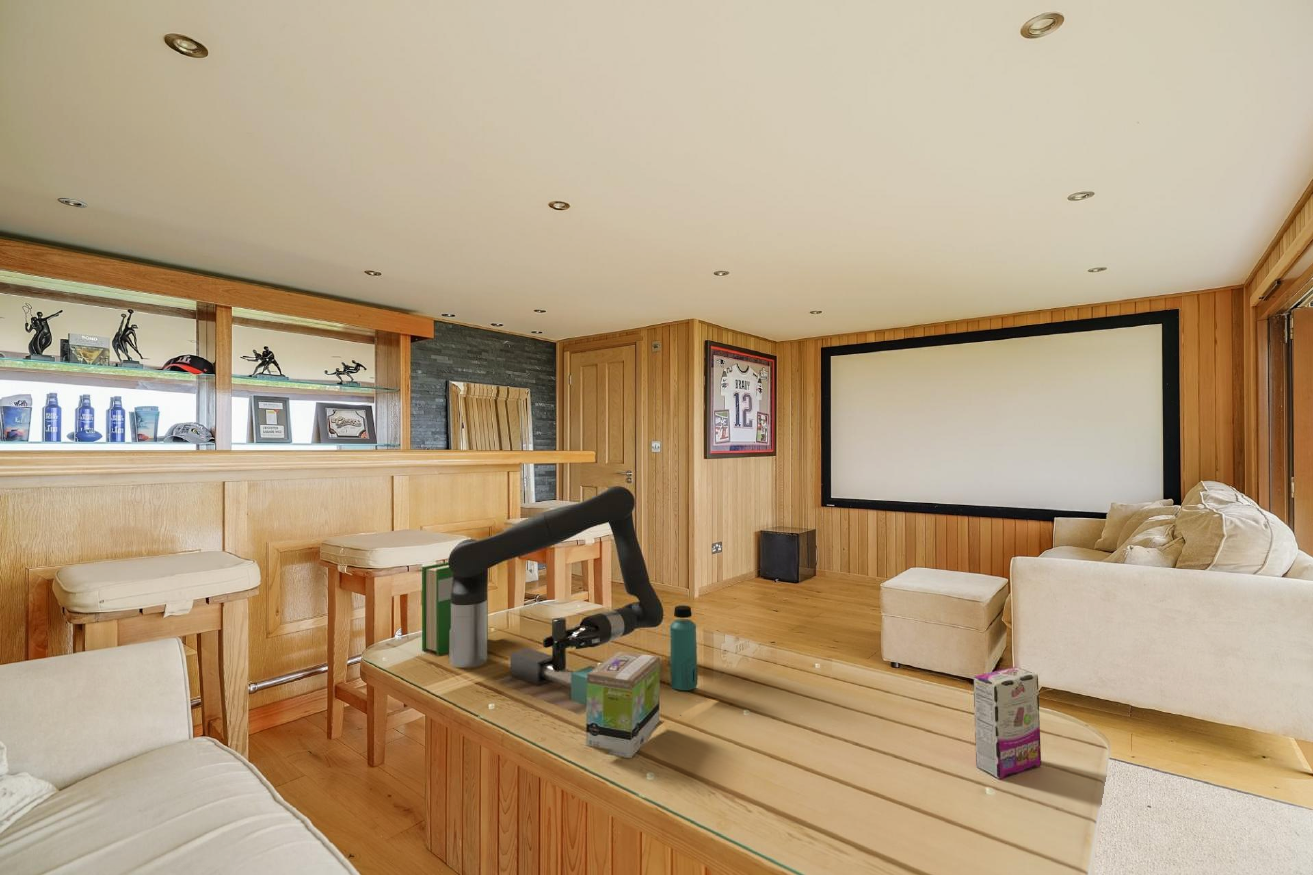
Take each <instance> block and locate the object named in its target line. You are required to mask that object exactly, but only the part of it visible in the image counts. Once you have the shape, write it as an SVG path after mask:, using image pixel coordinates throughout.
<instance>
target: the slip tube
mask: <svg viewBox="0 0 1313 875" xmlns="http://www.w3.org/2000/svg"><path fill="white" fill-rule="evenodd" d="M566 622H567V620H566V618H565V617H555V618H552V620H551V636H552V646H551V650H552V651H551V655H552V664H549V663H546V662H545V663H542V664H540V677H543V678H546V679H548V680H551V681H554V682H557V683H560V684H562V685H565V686H568V687H571V673H572V672H574V671H573V670H569V669H567V648H565V649H562V650H559V651H555V650H554V642H555V641H557V640H560V639H563V638H566V628H567V625H566V624H567V623H566Z"/></svg>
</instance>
